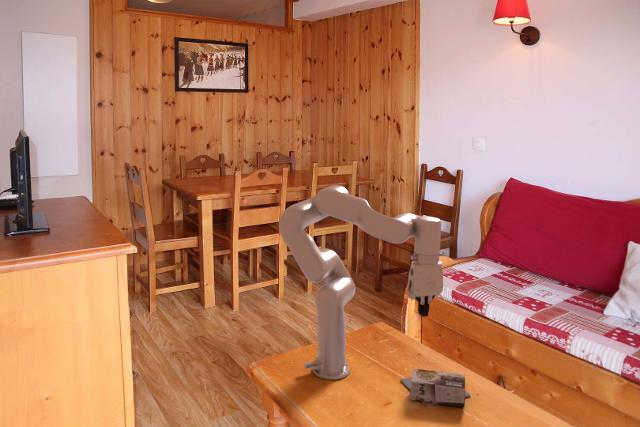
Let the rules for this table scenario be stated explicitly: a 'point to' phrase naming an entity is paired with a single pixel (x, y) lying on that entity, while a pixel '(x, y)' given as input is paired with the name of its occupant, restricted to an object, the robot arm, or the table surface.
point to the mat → (408, 384)
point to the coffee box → (438, 387)
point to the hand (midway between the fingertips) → (423, 314)
